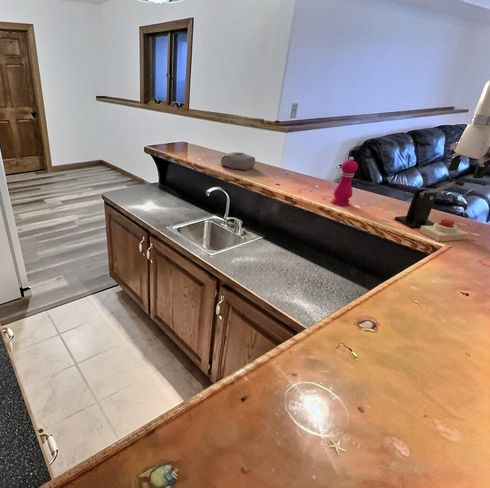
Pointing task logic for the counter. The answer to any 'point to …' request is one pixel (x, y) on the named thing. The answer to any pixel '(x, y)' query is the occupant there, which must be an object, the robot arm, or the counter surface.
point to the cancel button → (446, 223)
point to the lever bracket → (419, 210)
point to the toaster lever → (443, 187)
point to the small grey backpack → (238, 161)
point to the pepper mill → (345, 183)
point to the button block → (443, 232)
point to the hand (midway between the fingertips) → (464, 174)
